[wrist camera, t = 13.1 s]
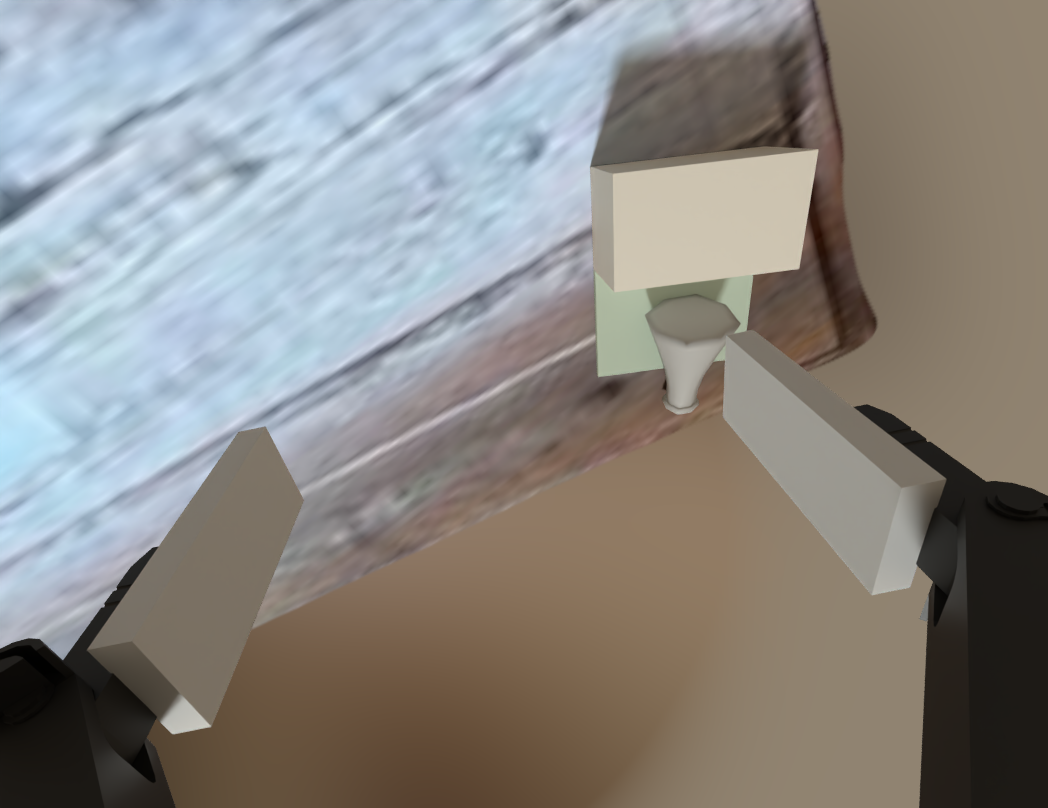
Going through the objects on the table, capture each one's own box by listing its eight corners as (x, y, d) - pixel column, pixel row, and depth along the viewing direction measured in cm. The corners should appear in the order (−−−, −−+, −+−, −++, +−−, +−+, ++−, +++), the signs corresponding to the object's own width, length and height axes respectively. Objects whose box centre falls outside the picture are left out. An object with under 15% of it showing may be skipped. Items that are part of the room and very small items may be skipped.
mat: (593, 269, 43) (595, 270, 43) (752, 249, 44) (756, 250, 43) (596, 374, 48) (598, 376, 48) (740, 355, 49) (743, 357, 48)
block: (590, 166, 40) (612, 173, 33) (764, 146, 40) (818, 149, 34) (593, 269, 43) (614, 292, 37) (752, 249, 44) (798, 268, 38)
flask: (629, 310, 44) (626, 394, 51) (684, 355, 39) (673, 441, 46) (698, 283, 45) (686, 368, 52) (758, 322, 40) (736, 410, 47)
